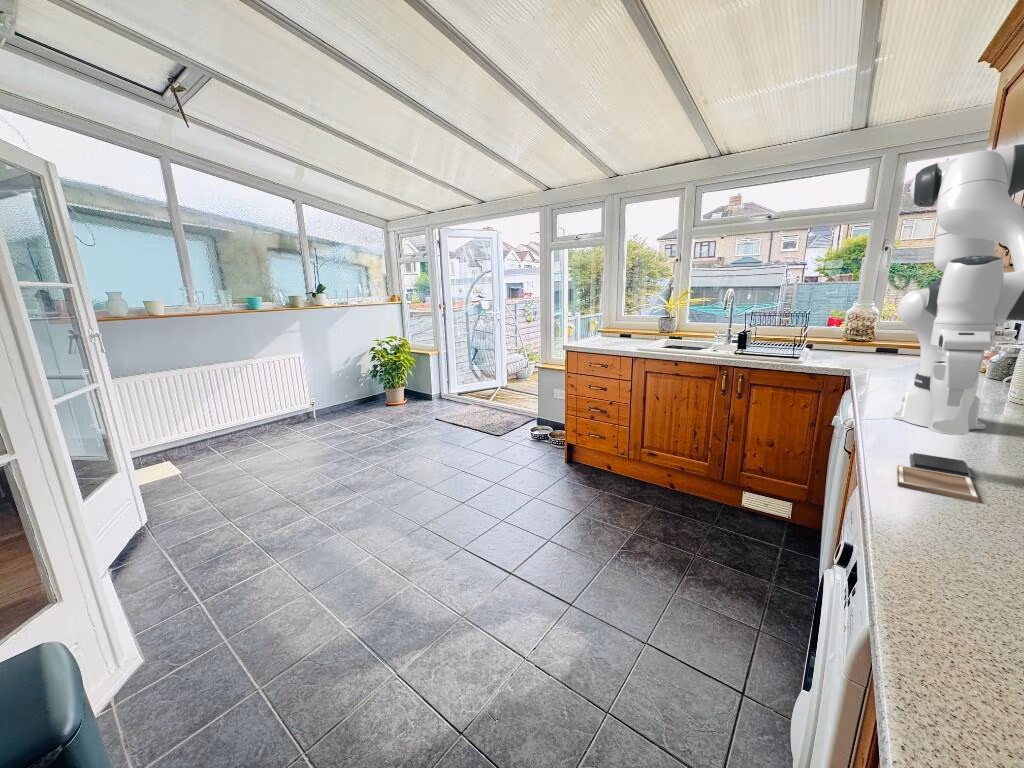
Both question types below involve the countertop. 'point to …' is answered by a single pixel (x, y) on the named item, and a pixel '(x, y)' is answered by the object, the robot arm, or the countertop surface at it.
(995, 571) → the countertop surface
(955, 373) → the robot arm
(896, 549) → the countertop surface
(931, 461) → the ink pad
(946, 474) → the board
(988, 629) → the countertop surface
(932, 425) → the beer glass
